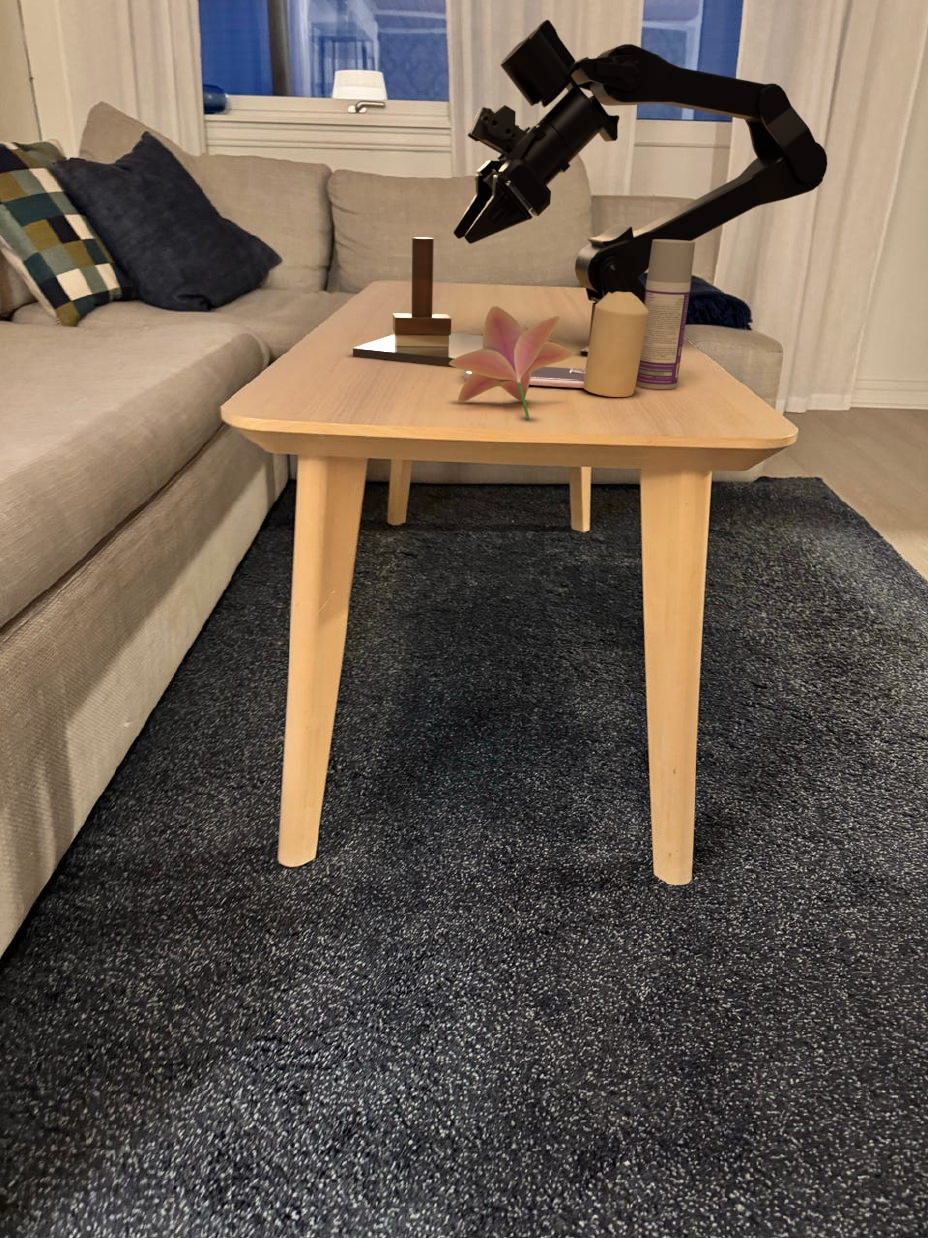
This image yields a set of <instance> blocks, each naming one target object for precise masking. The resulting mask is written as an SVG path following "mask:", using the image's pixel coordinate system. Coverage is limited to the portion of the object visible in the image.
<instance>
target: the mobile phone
mask: <svg viewBox="0 0 928 1238" xmlns="http://www.w3.org/2000/svg"><path fill="white" fill-rule="evenodd" d="M585 369H586V368H582V367H559V366H558V367H555V366H544V367H542V368H540V369H537V370H535V371H533V372H531V378H530V383H529V386H537V387H538V386H539V387H540V386H541V387H553V388H569V389H584V387H583V384H584V376H585ZM471 373H472V372H469V371H465V372H464V374H463V378H464V380H466V379H467V378H468V376H469V375H470V374H471Z"/></svg>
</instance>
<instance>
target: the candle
mask: <svg viewBox="0 0 928 1238" xmlns="http://www.w3.org/2000/svg"><path fill="white" fill-rule="evenodd" d="M648 313H649V311H648V309H647V308H646V306H645V305H644V304H643V303H642V302H641V301H640V300H639V298H638V297H636V296H635V295H634V294H632V293H631V292H614V293H613V294H612V293H610V292H608V294H607V295H606V296H605V297H604V298H602V299H601V300H600V301H599V302H598V303H597V304H596V305H595V310H594V317H593V323H592V330H591V337H590V343H589V342H588V345H589V350H588V355H586V357H587V358H586V362H585V363H586V364H585V368H584V369H585V376H584V384H583V387H584V388H583V389H584V390H585V391H587V392H589V393H591V394H595V395H599V396H605V397H610V398H611V397H612V398H613V397H614V398H626V397H631V396H633V395H634V393H635V390H636V386H637V385H636V380H637V374H638V369H639V363H640V358H641V352H642V347H643V341H644V336H645V330H646V324H647V319H648Z"/></svg>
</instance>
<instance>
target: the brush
mask: <svg viewBox="0 0 928 1238" xmlns="http://www.w3.org/2000/svg"><path fill="white" fill-rule="evenodd" d="M434 242H435V239H434V238H433V237H425V236H423V237H421V236H419V237H418V236H417V237H416V236H415V237H412V238H411V313H392V331H393V333H394V335H395V344H396V346H400V347H449V335H451V333H452V317H451V316H450V315H449V314H443V313H442V314H441V313H433V308H434V307H433V302H434V301H433V299H434V298H433V297H434V253H435V252H434V249H435V247H434V246H435V243H434Z"/></svg>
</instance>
